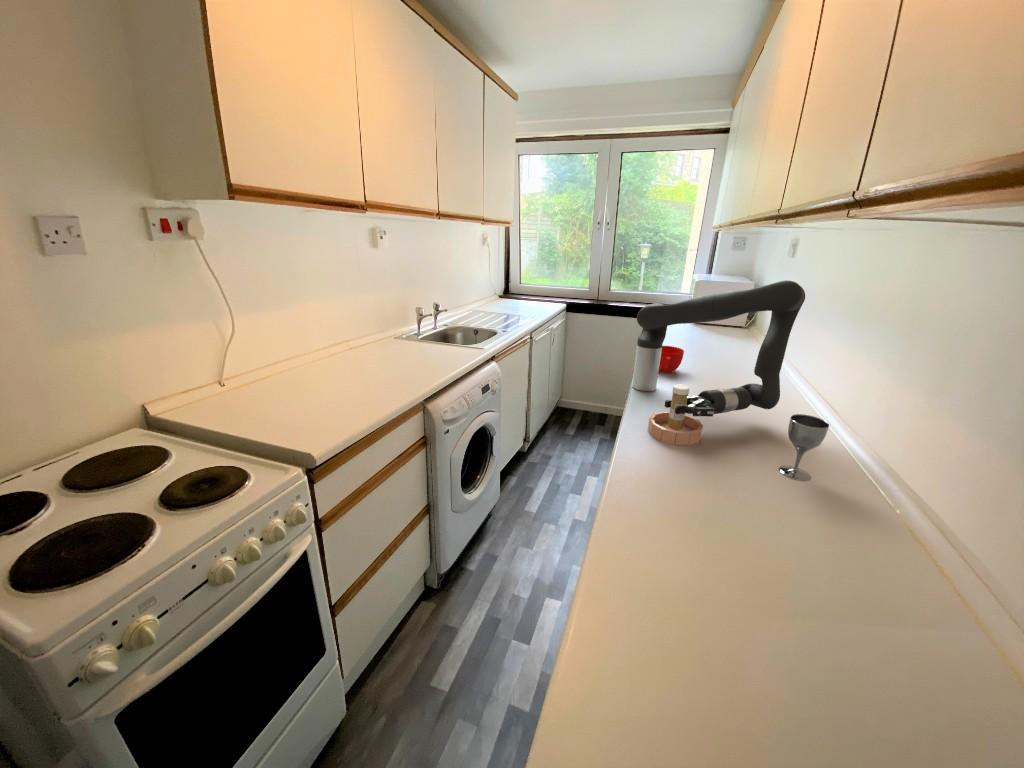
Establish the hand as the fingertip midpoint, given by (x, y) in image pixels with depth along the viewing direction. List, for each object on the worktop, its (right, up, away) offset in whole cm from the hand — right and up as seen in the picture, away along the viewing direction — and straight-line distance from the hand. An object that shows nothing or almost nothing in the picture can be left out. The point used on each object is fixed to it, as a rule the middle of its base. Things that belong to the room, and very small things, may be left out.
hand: (670, 407), depth 124 cm
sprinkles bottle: (+3, -6, +3) cm, 8 cm away
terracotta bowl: (+2, -8, +4) cm, 10 cm away
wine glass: (+26, -16, -16) cm, 35 cm away
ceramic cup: (+21, +12, +60) cm, 64 cm away
